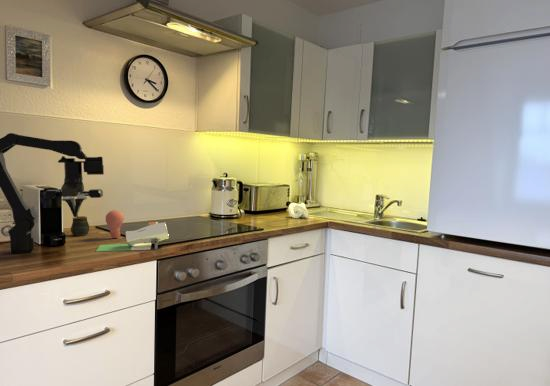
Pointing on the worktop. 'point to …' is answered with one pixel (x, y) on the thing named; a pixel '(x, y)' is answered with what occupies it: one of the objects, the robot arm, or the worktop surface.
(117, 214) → the light bulb
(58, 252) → the worktop surface
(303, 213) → the white lumpy piece
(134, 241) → the beer glass
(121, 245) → the putting mat
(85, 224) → the mate gourd
